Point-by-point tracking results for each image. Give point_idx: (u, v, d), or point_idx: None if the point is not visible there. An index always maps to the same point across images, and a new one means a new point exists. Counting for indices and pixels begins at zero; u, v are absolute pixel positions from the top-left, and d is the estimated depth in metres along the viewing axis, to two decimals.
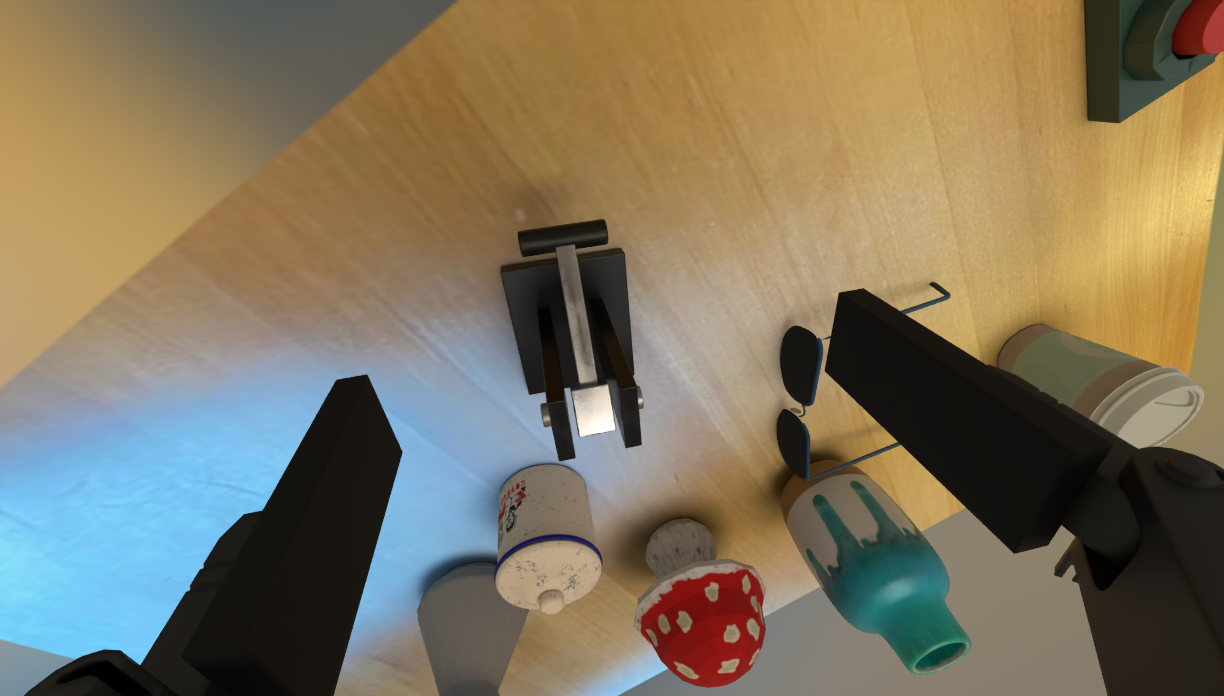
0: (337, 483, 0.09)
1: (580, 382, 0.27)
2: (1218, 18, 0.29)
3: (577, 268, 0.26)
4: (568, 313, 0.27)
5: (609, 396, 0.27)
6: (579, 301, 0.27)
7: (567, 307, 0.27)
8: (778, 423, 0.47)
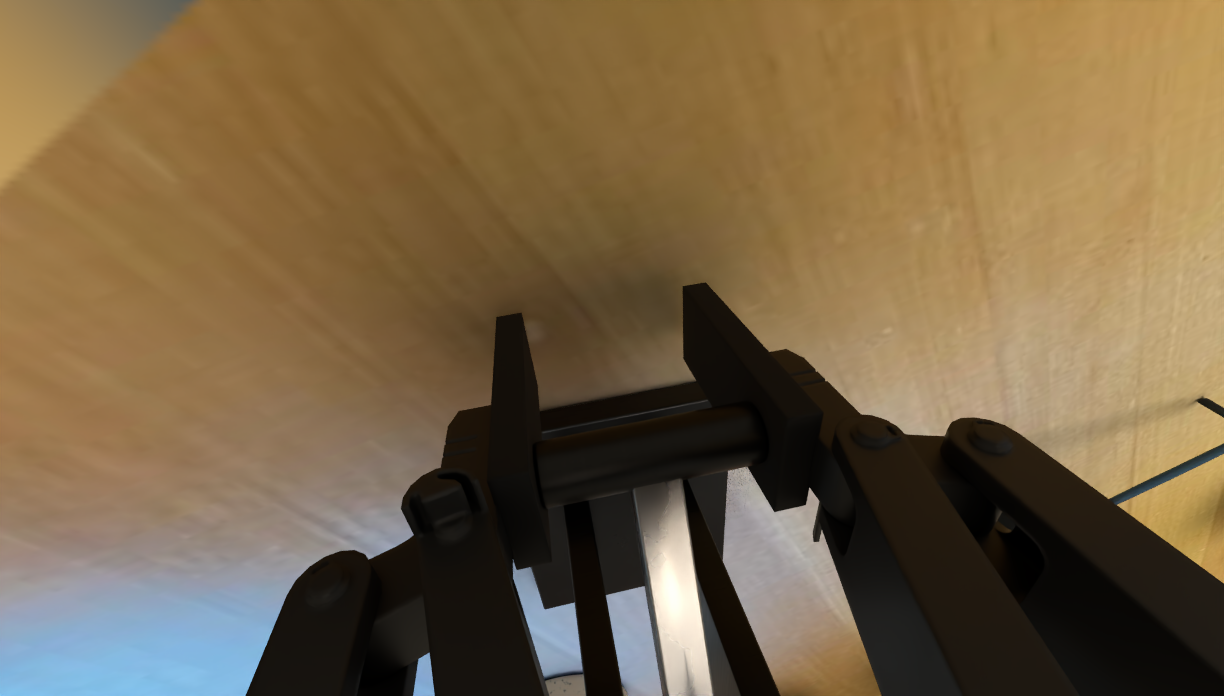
0: (528, 389, 0.12)
1: None
2: None
3: (687, 536, 0.10)
4: (662, 646, 0.10)
5: None
6: (692, 616, 0.10)
7: (660, 633, 0.10)
8: None
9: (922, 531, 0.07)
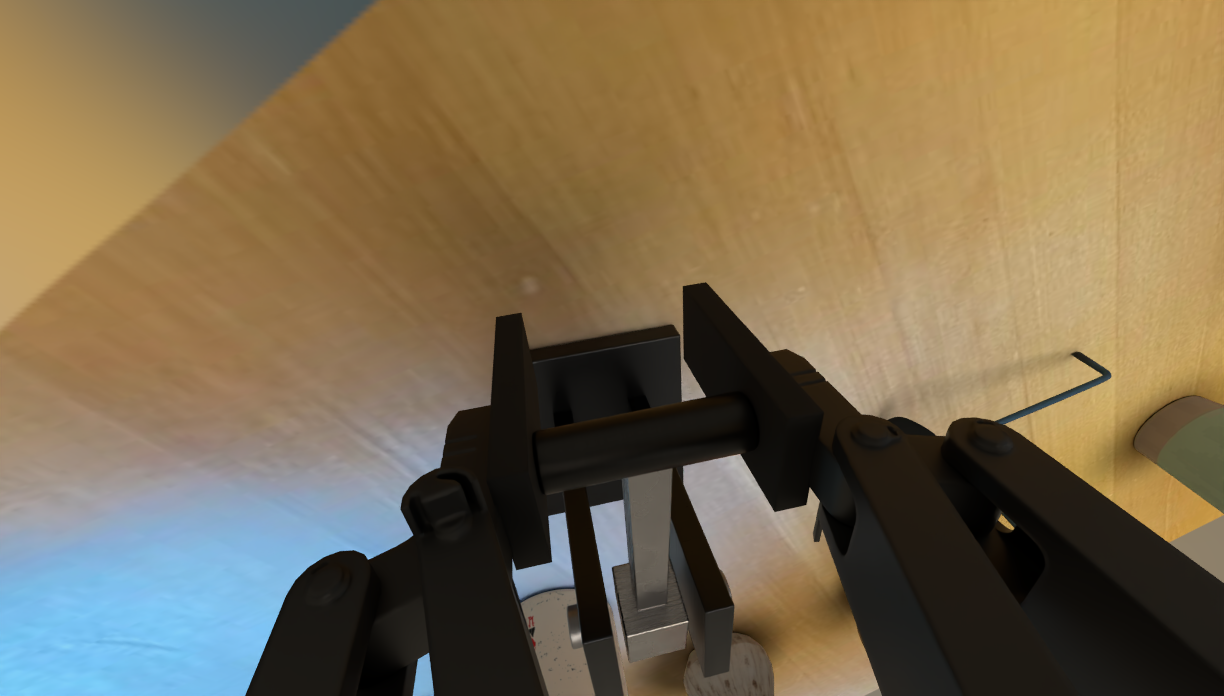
0: (528, 389, 0.12)
1: (639, 607, 0.16)
2: None
3: (669, 498, 0.12)
4: (635, 551, 0.13)
5: (686, 629, 0.16)
6: (661, 537, 0.13)
7: (635, 546, 0.13)
8: None
9: (922, 531, 0.07)
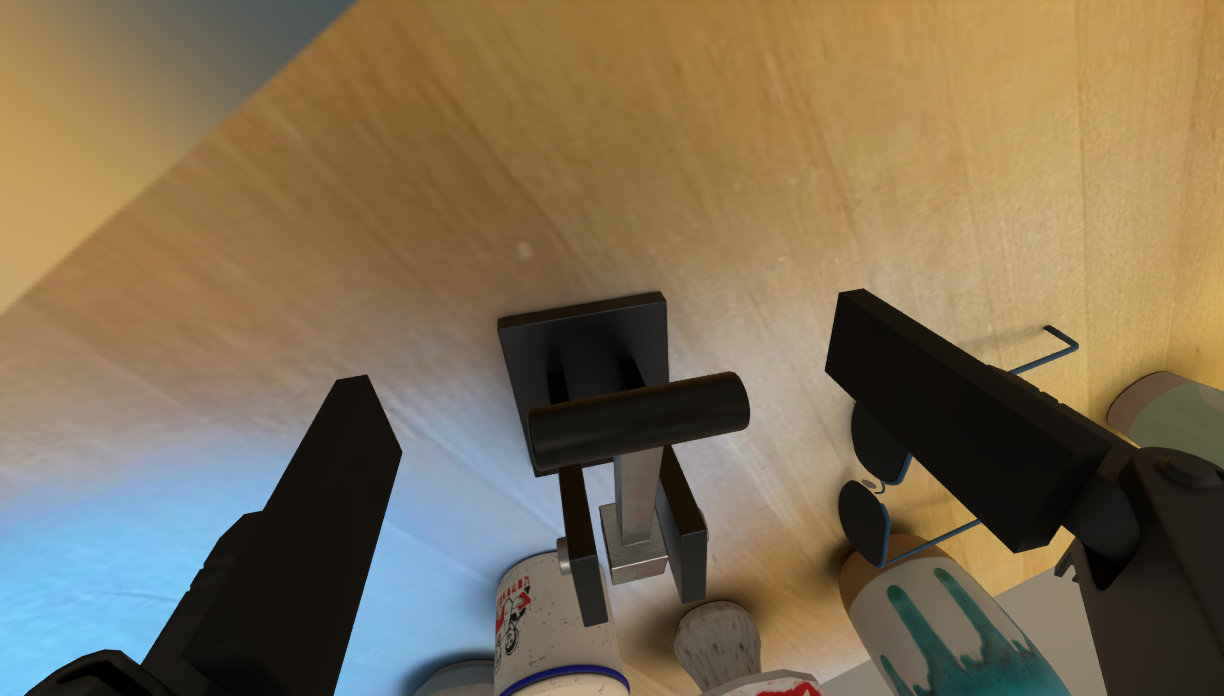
0: (337, 483, 0.09)
1: (623, 544, 0.17)
2: None
3: (658, 467, 0.12)
4: (623, 506, 0.14)
5: (665, 561, 0.18)
6: (648, 494, 0.14)
7: (623, 503, 0.14)
8: (842, 494, 0.38)
9: None
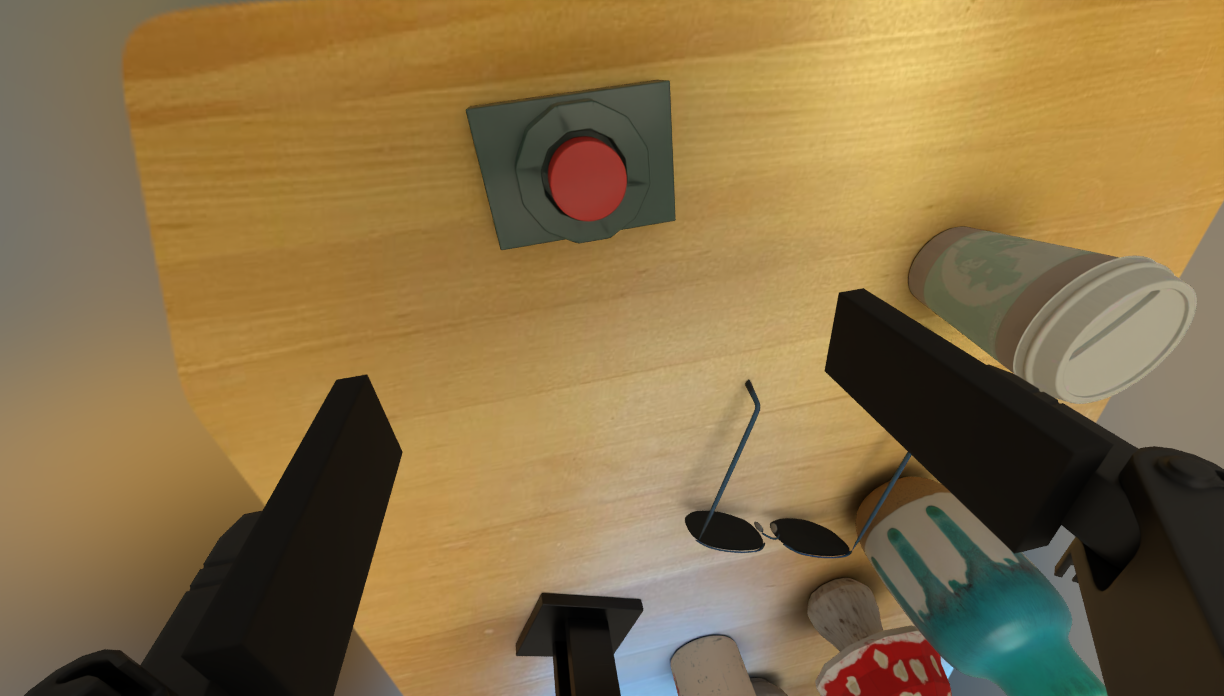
0: (337, 483, 0.09)
1: None
2: (577, 205, 0.22)
3: None
4: None
5: None
6: None
7: None
8: None
9: None
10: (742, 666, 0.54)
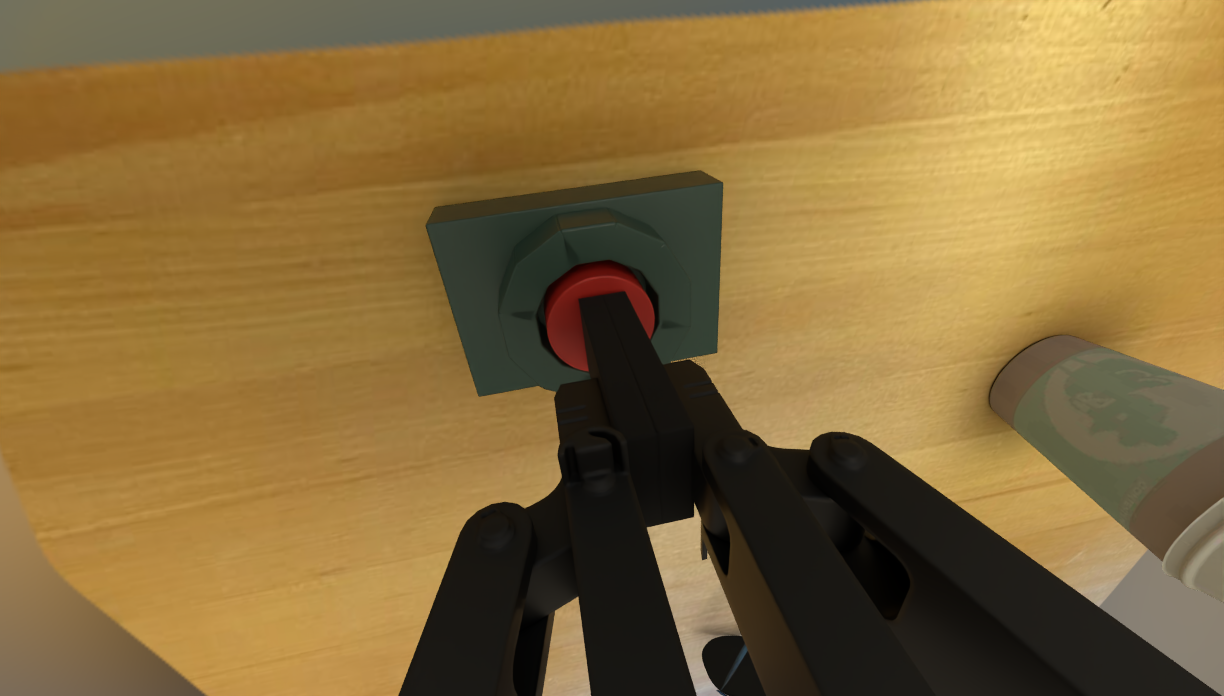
0: None
1: None
2: (584, 355, 0.16)
3: None
4: None
5: None
6: None
7: None
8: None
9: (787, 546, 0.07)
10: None
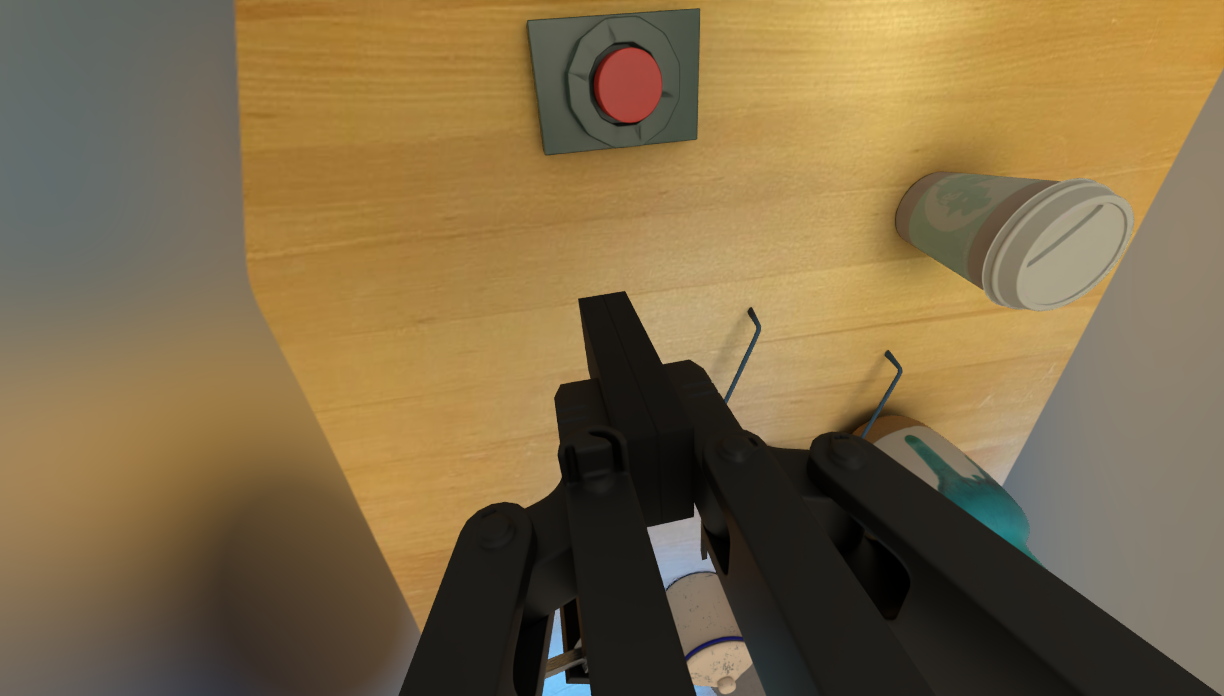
0: None
1: (582, 662, 0.42)
2: (619, 107, 0.26)
3: None
4: None
5: None
6: None
7: None
8: None
9: (787, 546, 0.07)
10: None
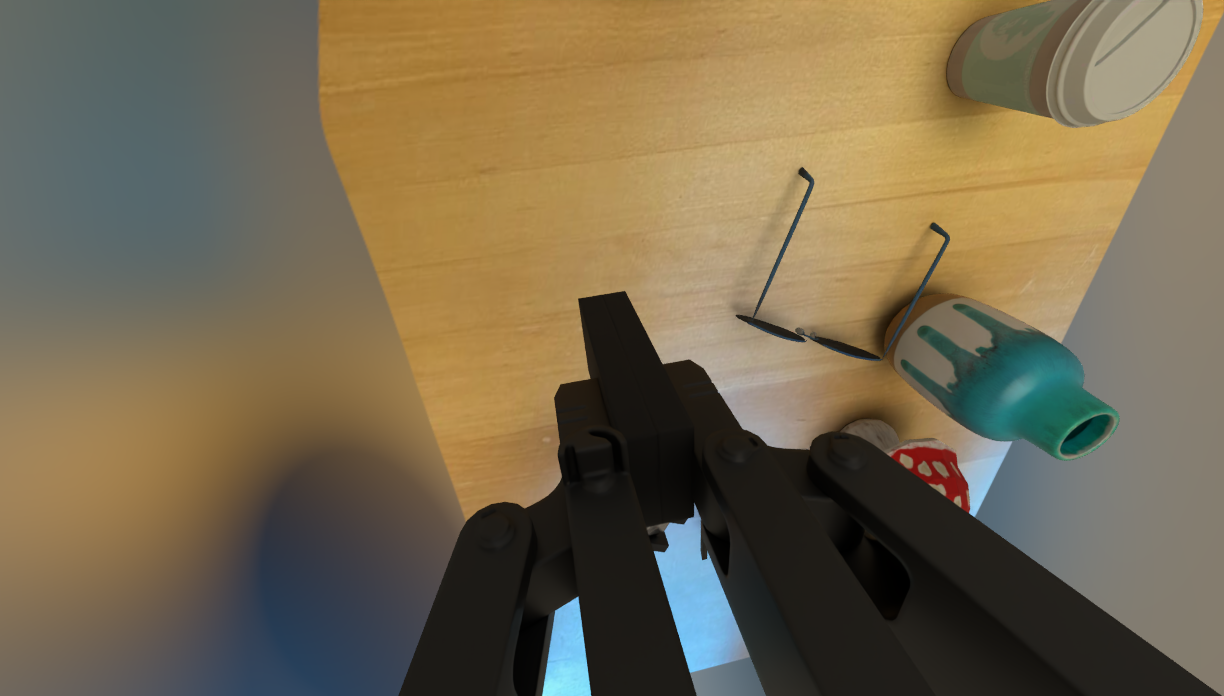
0: None
1: None
2: None
3: None
4: None
5: None
6: None
7: None
8: (821, 339, 0.51)
9: (788, 546, 0.07)
10: None
